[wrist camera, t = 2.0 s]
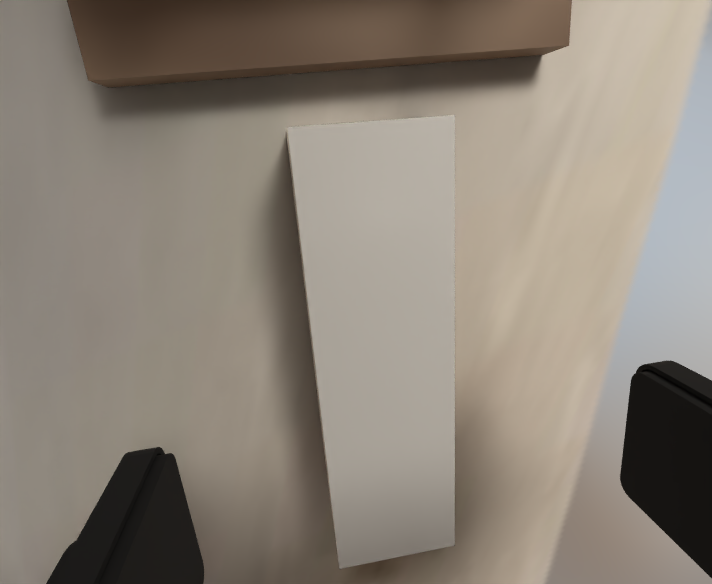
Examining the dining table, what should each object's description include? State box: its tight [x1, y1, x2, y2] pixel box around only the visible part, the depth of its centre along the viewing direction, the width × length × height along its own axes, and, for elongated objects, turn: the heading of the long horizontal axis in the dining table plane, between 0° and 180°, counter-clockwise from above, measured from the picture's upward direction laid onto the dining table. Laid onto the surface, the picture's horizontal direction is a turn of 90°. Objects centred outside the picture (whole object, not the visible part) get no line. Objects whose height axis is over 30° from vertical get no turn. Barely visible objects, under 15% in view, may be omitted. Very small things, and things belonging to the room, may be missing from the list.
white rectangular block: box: [286, 115, 455, 569], centre depth 13 cm, size 12×4×4 cm, turn 4°
